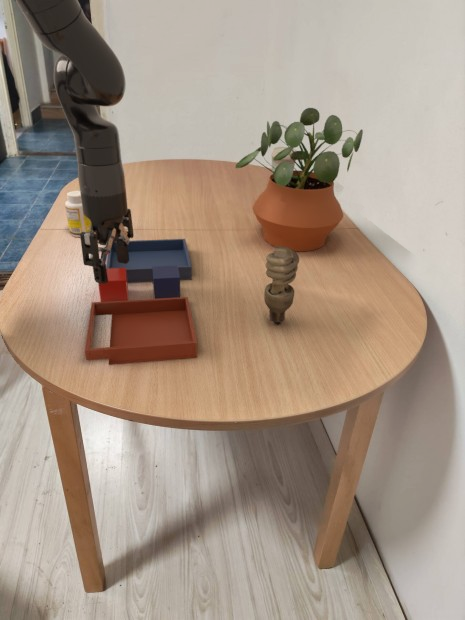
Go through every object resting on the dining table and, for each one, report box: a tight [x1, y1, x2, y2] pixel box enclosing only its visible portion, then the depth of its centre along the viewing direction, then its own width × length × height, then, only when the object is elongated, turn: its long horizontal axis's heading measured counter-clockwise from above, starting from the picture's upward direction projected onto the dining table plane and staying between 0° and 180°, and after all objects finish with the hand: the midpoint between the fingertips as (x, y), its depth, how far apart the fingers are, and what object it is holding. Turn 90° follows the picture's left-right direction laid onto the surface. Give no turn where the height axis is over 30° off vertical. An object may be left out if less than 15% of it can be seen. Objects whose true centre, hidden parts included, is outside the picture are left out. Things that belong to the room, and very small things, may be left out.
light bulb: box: [263, 246, 300, 325], centre depth 79 cm, size 6×6×15 cm
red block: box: [97, 268, 129, 302], centre depth 87 cm, size 5×5×5 cm
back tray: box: [106, 238, 193, 284], centre depth 99 cm, size 17×14×3 cm
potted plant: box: [235, 107, 364, 252], centre depth 107 cm, size 23×28×30 cm
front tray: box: [84, 296, 198, 365], centre depth 77 cm, size 17×14×3 cm
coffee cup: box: [270, 146, 297, 175], centre depth 148 cm, size 8×8×12 cm
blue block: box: [152, 265, 181, 299], centre depth 89 cm, size 5×5×5 cm
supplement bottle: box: [64, 190, 91, 238], centre depth 110 cm, size 6×6×10 cm
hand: (113, 271), depth 86 cm, fingers open, 8 cm apart
